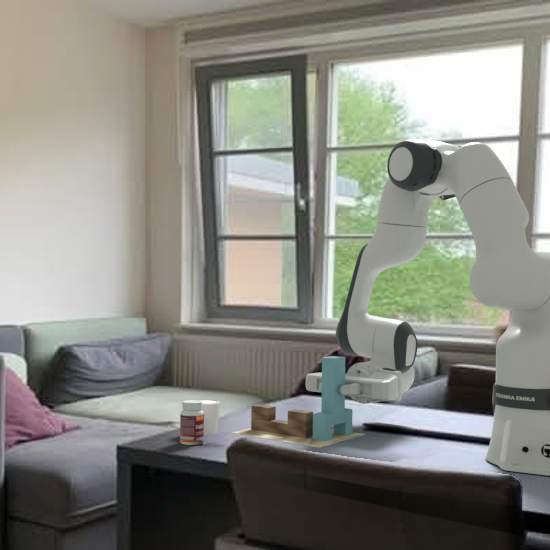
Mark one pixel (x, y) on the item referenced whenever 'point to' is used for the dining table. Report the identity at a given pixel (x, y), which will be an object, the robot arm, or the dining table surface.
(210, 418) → the white cup
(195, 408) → the pill bottle
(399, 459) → the dining table surface
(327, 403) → the angled bracket
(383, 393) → the robot arm
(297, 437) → the jig board
